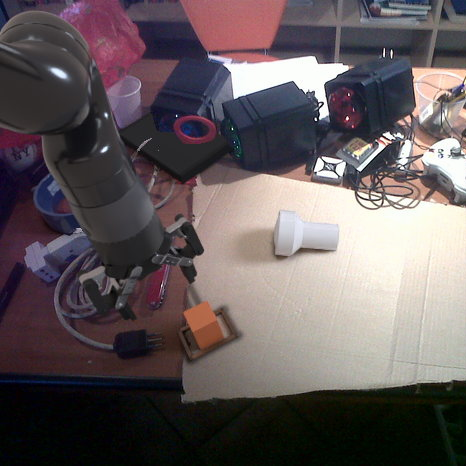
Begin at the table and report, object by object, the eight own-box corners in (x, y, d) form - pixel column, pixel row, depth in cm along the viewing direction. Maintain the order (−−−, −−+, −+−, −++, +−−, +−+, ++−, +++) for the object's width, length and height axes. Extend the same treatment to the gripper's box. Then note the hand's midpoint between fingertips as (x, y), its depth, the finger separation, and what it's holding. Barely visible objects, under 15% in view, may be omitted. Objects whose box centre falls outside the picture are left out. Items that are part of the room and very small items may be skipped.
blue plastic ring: (56, 248, 91) (41, 228, 87) (41, 199, 100) (27, 178, 95) (134, 216, 96) (124, 195, 91) (114, 172, 104) (103, 150, 100)
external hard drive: (184, 187, 100) (181, 176, 98) (120, 142, 111) (115, 132, 109) (235, 151, 107) (232, 141, 105) (169, 113, 117) (166, 102, 115)
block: (201, 351, 76) (192, 332, 71) (191, 331, 78) (182, 312, 73) (224, 339, 77) (217, 319, 72) (214, 320, 79) (207, 300, 74)
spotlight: (273, 223, 91) (277, 200, 84) (333, 228, 92) (342, 206, 85) (271, 262, 87) (275, 241, 80) (333, 267, 88) (342, 247, 81)
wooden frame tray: (192, 364, 75) (190, 360, 74) (157, 286, 85) (154, 281, 83) (239, 339, 77) (238, 335, 76) (199, 266, 87) (197, 261, 86)
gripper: (160, 164, 56) (193, 251, 68) (38, 227, 50) (98, 309, 63) (193, 199, 52) (222, 284, 64) (65, 271, 47) (124, 349, 59)
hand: (161, 296), depth 64 cm, fingers open, 8 cm apart
